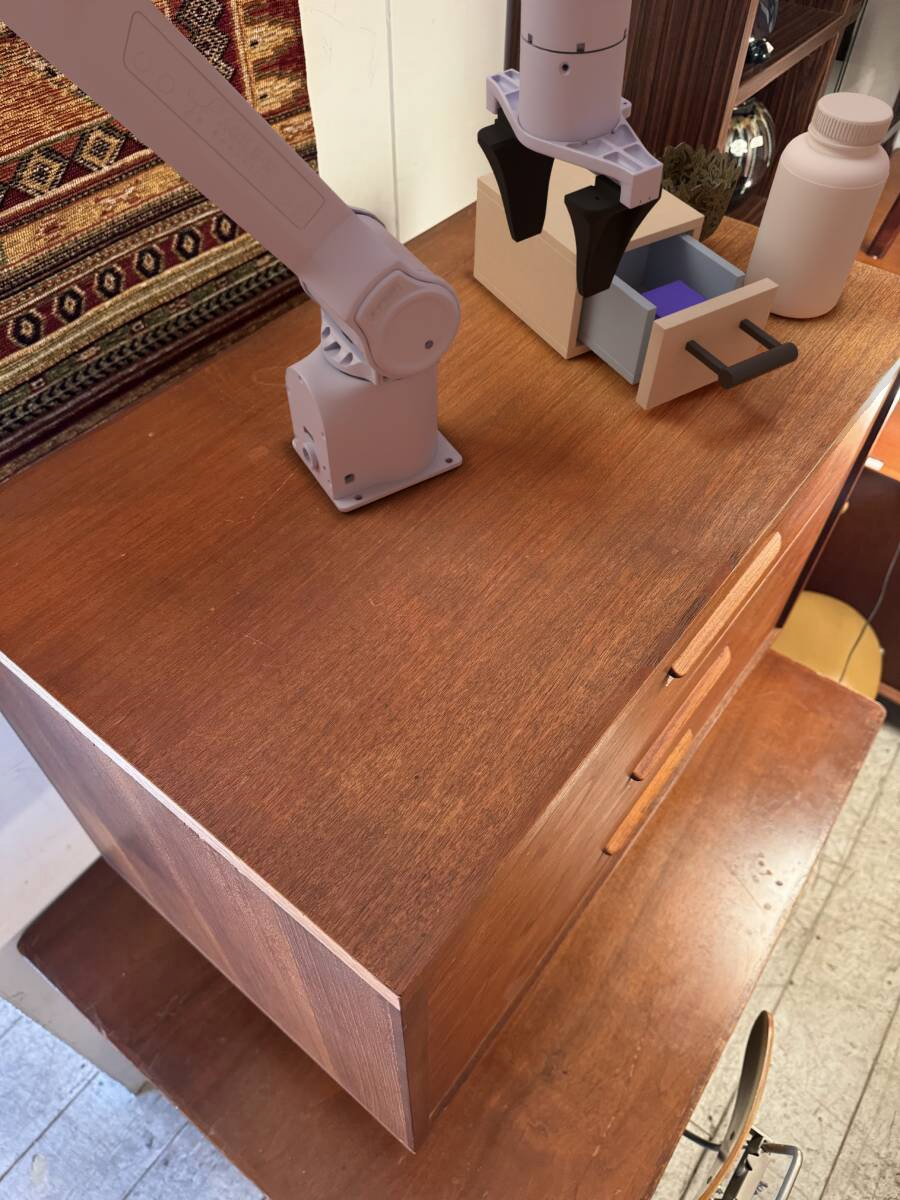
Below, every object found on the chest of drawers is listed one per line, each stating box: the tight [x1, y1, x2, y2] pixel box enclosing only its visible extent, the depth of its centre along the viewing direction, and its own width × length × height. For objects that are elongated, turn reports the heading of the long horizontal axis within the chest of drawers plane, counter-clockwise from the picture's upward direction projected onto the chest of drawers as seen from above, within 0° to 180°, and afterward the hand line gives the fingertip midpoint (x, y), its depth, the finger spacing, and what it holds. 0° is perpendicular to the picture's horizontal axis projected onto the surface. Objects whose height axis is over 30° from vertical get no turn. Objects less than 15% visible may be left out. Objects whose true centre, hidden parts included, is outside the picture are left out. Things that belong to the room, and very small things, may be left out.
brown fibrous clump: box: [652, 141, 743, 244], centre depth 74 cm, size 8×7×8 cm
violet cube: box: [641, 280, 707, 320], centre depth 64 cm, size 4×4×4 cm
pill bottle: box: [743, 91, 894, 319], centre depth 68 cm, size 8×8×15 cm
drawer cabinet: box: [473, 158, 705, 361], centre depth 70 cm, size 14×12×9 cm
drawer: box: [577, 232, 799, 411], centre depth 63 cm, size 17×10×7 cm, turn 31°
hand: (559, 262), depth 57 cm, fingers open, 7 cm apart
